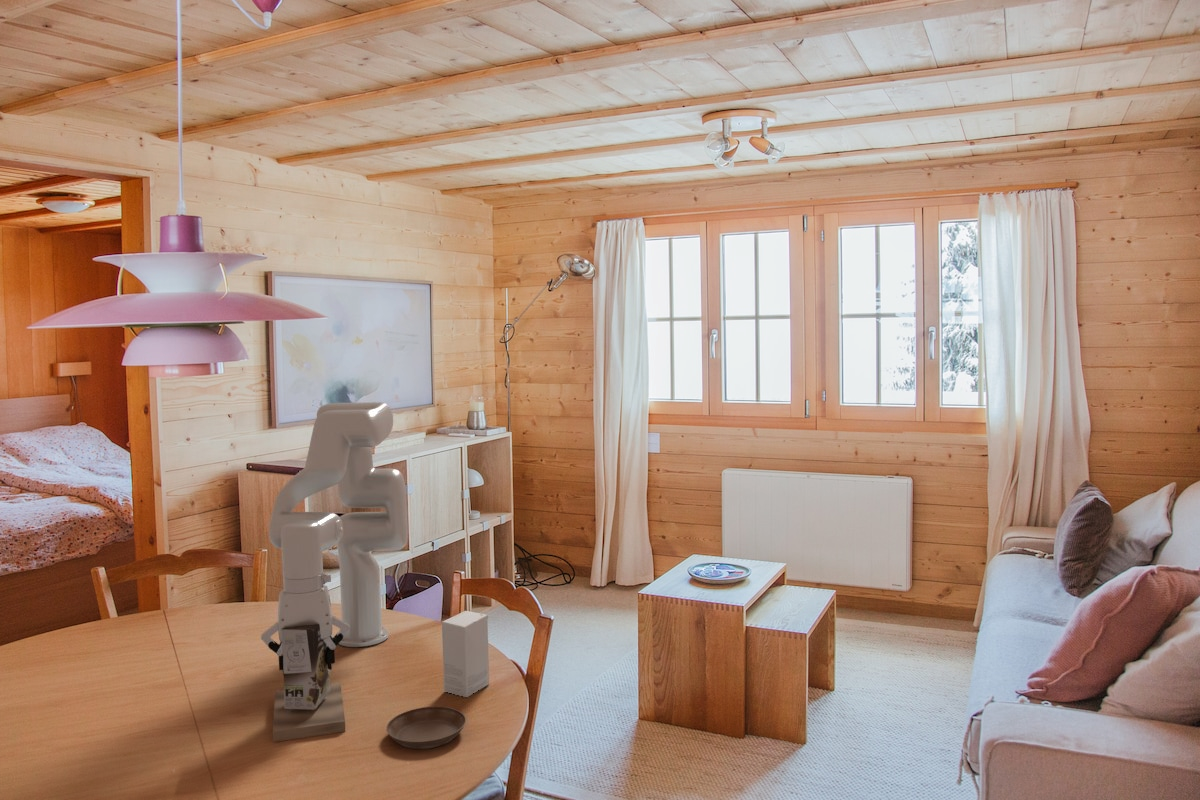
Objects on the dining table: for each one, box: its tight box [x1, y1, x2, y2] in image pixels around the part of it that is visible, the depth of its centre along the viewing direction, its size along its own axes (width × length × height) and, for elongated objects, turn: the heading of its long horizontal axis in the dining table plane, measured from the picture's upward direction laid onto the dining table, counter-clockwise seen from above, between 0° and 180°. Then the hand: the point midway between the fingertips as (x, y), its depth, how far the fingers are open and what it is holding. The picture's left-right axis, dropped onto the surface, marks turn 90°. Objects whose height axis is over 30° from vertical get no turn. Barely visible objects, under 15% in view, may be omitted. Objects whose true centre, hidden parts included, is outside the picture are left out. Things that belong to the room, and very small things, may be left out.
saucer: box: [386, 706, 467, 750], centre depth 171 cm, size 15×15×3 cm
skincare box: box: [441, 610, 490, 698], centre depth 192 cm, size 8×7×16 cm
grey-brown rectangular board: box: [272, 682, 346, 743], centre depth 180 cm, size 20×13×2 cm, turn 18°
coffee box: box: [282, 624, 331, 710], centre depth 179 cm, size 9×6×16 cm
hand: (307, 669), depth 180 cm, fingers closed on coffee box, 7 cm apart
